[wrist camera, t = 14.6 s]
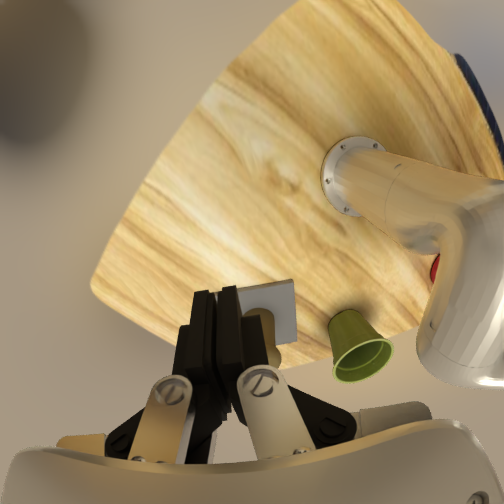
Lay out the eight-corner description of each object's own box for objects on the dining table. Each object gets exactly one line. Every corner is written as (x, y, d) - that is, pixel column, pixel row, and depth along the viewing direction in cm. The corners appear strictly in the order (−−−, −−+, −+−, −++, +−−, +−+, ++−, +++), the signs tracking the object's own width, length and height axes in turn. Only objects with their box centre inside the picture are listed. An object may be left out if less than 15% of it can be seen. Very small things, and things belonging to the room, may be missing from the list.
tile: (292, 279, 45) (293, 282, 44) (296, 337, 51) (297, 341, 50) (209, 293, 45) (209, 296, 44) (226, 349, 51) (226, 353, 50)
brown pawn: (273, 332, 49) (284, 377, 39) (241, 334, 48) (245, 381, 38) (275, 306, 46) (287, 352, 36) (240, 308, 46) (244, 355, 36)
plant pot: (315, 307, 48) (334, 350, 38) (372, 293, 48) (399, 330, 38) (316, 349, 54) (331, 390, 44) (366, 336, 54) (387, 372, 44)
